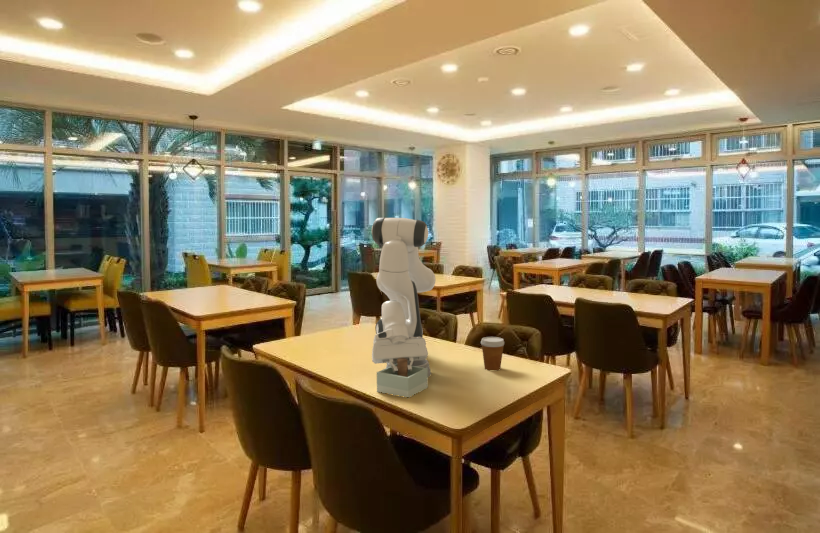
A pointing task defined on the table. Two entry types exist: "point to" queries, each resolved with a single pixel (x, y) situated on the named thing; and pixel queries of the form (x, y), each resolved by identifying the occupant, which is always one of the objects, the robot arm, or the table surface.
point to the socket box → (402, 381)
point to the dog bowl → (417, 365)
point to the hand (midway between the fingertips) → (402, 371)
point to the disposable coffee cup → (492, 352)
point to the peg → (402, 367)
